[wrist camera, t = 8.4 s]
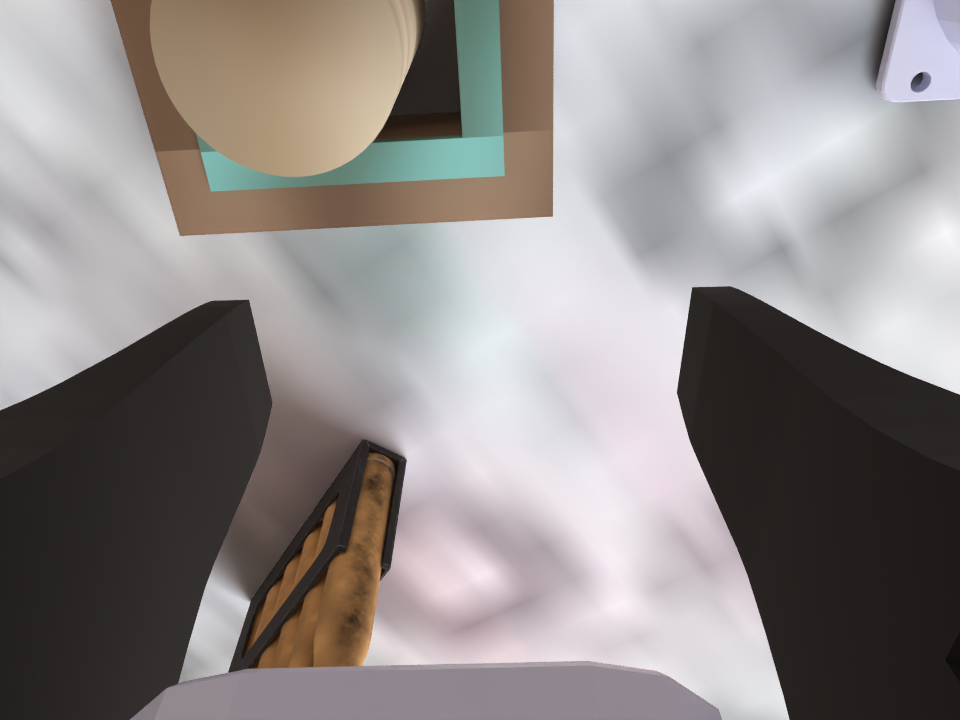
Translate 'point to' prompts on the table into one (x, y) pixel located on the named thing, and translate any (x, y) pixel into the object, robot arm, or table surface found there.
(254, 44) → the peg
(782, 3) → the table surface
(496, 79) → the rail
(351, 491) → the ammunition clip
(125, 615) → the robot arm
